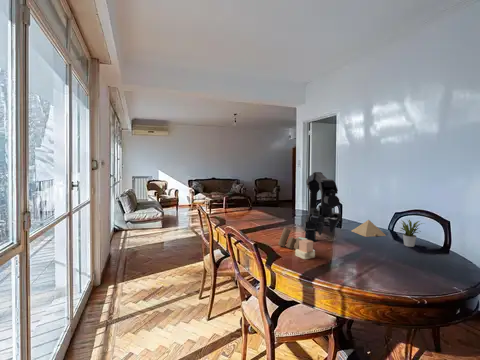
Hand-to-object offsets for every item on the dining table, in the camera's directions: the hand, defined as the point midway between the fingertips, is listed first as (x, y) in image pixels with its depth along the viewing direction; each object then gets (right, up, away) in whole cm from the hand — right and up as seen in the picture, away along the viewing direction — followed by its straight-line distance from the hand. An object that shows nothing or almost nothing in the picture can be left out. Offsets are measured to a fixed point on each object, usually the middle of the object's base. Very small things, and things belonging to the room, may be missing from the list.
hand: (325, 233), depth 149 cm
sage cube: (-9, -11, +16) cm, 21 cm away
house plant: (+57, -11, +21) cm, 62 cm away
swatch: (-7, -11, +10) cm, 17 cm away
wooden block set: (-17, -11, +16) cm, 26 cm away
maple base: (-11, -12, 0) cm, 16 cm away
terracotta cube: (-10, -9, -1) cm, 14 cm away
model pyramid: (+45, -10, +50) cm, 68 cm away
